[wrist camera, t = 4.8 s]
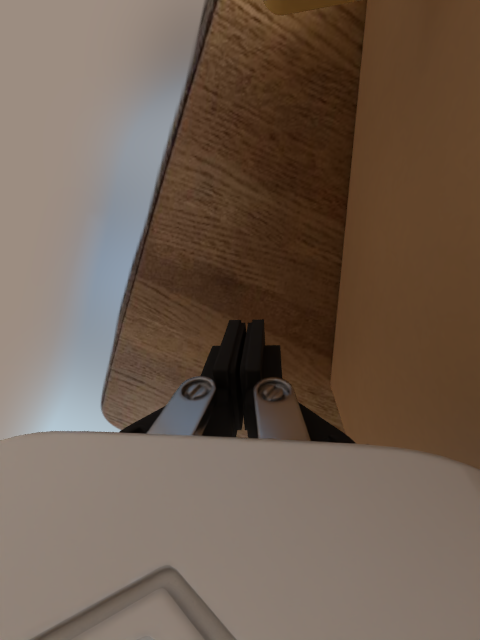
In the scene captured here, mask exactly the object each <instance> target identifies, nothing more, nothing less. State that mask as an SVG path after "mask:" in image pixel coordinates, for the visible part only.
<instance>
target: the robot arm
mask: <svg viewBox="0 0 480 640" xmlns="http://www.w3.org/2000/svg"><path fill="white" fill-rule="evenodd" d="M243 415H244V424H245V430H247V431H248V437H249V438H236V434H237V430H241V429H242V423H243ZM0 640H480V470H479V469H477V468H475V467H472V466H470V465H467V464H464V463H461V462H458V461H455V460H452V459H449V458H446V457H443V456H439V455H435V454H431V453H427V452H423V451H418V450H411V449H405V448H399V447H388V446H377V445H370V444H366V445H365V444H356V443H355V442H354V441H353V440H352V439H351V438H350V437H349V436H347V435H346V434H344V433H343V432H341V431H340V430H338V429H337V428H335V427H334V426H333V425H331V424H330V423H328V422H327V421H325V420H324V419H322V418H321V417H319V416H318V415H316V414H315V413H313V412H312V411H311V410H309V409H308V408H306V407H305V406H303V405H302V404H300V403H299V402H298V401H297V398H296V395H295V392H294V389H293V387H292V385H291V384H290V383H289V382H288V381H286V380H284V379H282V369H281V351H280V345H265V332H264V319H262V320H252V323H248V327H247V332H246V325H245V323H241V320H229V323H228V326H227V329H226V332H225V335H224V338H223V341H222V343H221V346H212V348H211V351H210V353H209V356H208V358H207V361H206V363H205V366H204V369H203V371H202V374H201V376H198V377H193V378H190V379H188V380H186V381H185V382H183V383H182V384H181V385H180V386H179V388H178V389H177V391H176V392H175V394H174V395H173V396H172V398H171V399H170V401H169V402H168V404H167V405H166V406H164V407H163V408H161V409H159V410H157V411H155V412H153V413H152V414H150V415H148V416H146V417H144V418H142V419H141V420H139V421H137V422H135V423H133V424H131V425H130V426H128V427H126V428H124V429H123V430H121V431H120V432H119V433H117V432H89V431H50V432H38V433H32V434H25V435H20V436H15V437H12V438H8V439H4V440H0Z"/></svg>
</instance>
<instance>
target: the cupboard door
mask: <svg viewBox="0 0 480 640" xmlns="http://www.w3.org/2000/svg"><path fill="white" fill-rule="evenodd" d="M355 1H361V0H263V2H264V4H265V6H266V7H267V8H268V9H269V10H270V11H271V12H272V13H274V14H276V15H287V14H292V13H297V12H303V11H308V10H313V9H319V8H324V7H329V6H334V5H340V4H345V3H350V2H355ZM330 385H331V389H332V392H333V395H334V398H335V402H336V405H337V408H338V411H339V415H340V418H341V421H342V424H343V427H344V431H345V434H346V435H347V436H349V437H350V438H351V439H352V440H353V441H354V442H355V443H356V444H365V445H366V444H370V445H377V446H388V447H399V448H405V449H411V450H418V451H423V452H427V453H431V454H435V455H439V456H443V457H446V458H449V459H452V460H455V461H458V462H461V463H464V464H467V465H470V466H472V467H475V468H477V469H479V470H480V0H367V8H366V19H365V29H364V39H363V50H362V60H361V70H360V81H359V91H358V101H357V112H356V122H355V132H354V143H353V153H352V163H351V174H350V184H349V194H348V205H347V215H346V225H345V236H344V246H343V256H342V267H341V277H340V287H339V298H338V308H337V319H336V329H335V339H334V350H333V360H332V370H331V381H330Z"/></svg>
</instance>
